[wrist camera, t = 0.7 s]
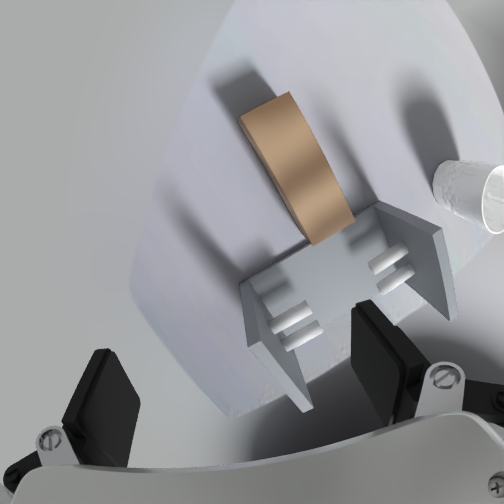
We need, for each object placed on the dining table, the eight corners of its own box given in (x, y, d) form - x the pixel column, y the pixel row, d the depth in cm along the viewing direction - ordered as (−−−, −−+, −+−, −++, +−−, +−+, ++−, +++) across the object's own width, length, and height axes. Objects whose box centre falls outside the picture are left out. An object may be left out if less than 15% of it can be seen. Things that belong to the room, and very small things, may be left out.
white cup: (467, 157, 32) (519, 167, 23) (465, 211, 35) (514, 231, 25) (428, 154, 31) (483, 162, 22) (427, 214, 34) (478, 237, 25)
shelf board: (237, 121, 29) (240, 116, 24) (278, 99, 28) (289, 91, 24) (300, 232, 34) (313, 246, 29) (337, 210, 33) (355, 221, 28)
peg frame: (378, 200, 33) (441, 227, 22) (404, 271, 37) (458, 315, 25) (239, 283, 35) (247, 347, 23) (282, 345, 38) (303, 412, 27)
